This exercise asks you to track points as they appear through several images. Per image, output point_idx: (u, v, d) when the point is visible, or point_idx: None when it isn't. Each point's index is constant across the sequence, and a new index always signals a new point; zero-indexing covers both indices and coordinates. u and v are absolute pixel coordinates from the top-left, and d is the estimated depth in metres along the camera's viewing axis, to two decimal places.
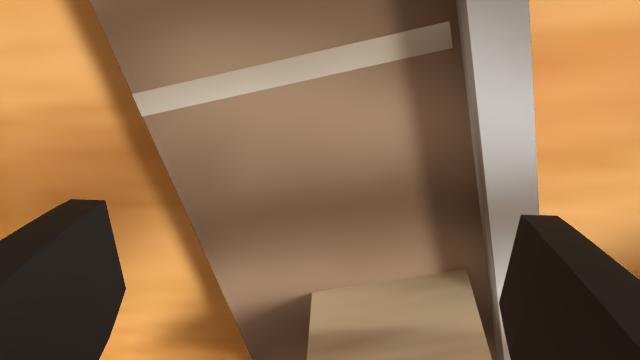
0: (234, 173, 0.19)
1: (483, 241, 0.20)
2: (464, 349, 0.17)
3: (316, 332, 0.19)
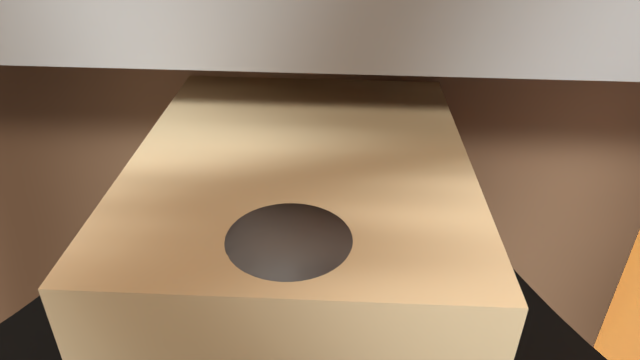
0: None
1: None
2: None
3: None
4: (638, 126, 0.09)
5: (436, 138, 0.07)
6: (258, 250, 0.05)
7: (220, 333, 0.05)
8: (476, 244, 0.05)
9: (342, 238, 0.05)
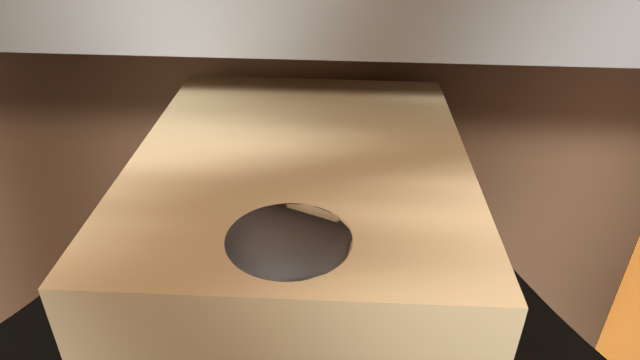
0: None
1: None
2: None
3: None
4: None
5: (436, 138, 0.07)
6: (257, 250, 0.05)
7: (220, 334, 0.05)
8: (476, 244, 0.05)
9: (342, 238, 0.05)
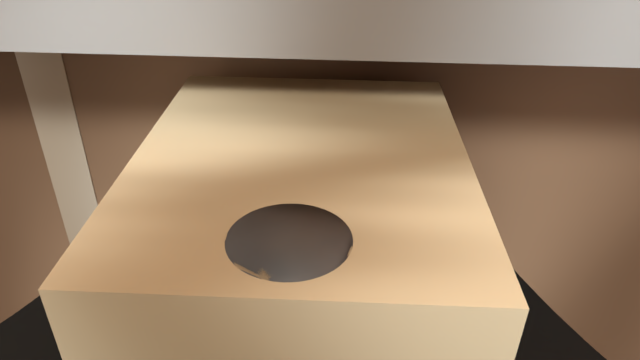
0: None
1: None
2: None
3: None
4: None
5: (436, 138, 0.07)
6: (258, 250, 0.05)
7: (220, 334, 0.05)
8: (477, 244, 0.05)
9: (342, 238, 0.05)
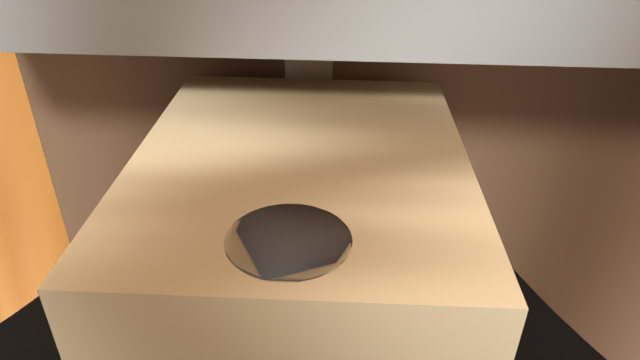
0: None
1: None
2: None
3: None
4: None
5: (436, 138, 0.07)
6: (257, 250, 0.05)
7: (220, 334, 0.05)
8: (476, 244, 0.05)
9: (342, 238, 0.05)
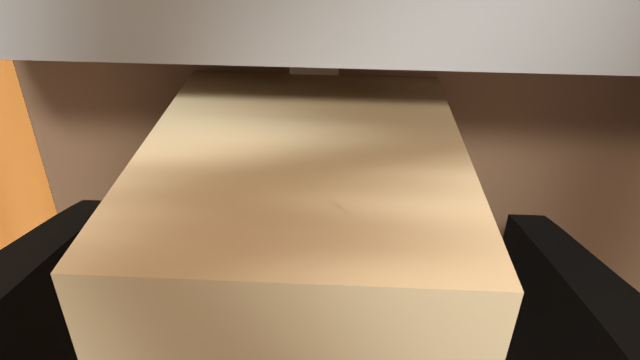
0: None
1: None
2: None
3: None
4: None
5: (435, 132, 0.07)
6: (262, 236, 0.05)
7: (226, 318, 0.05)
8: (473, 232, 0.05)
9: (343, 226, 0.05)
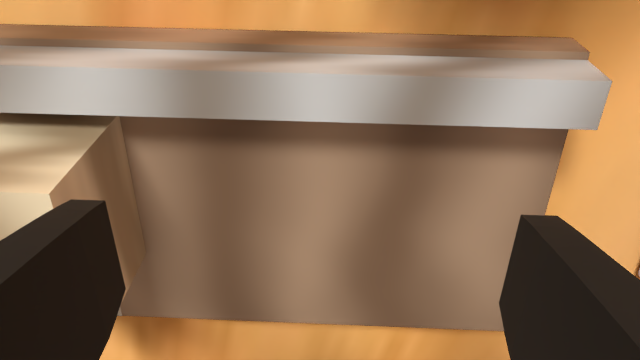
0: (177, 278, 0.22)
1: None
2: None
3: None
4: (544, 144, 0.18)
5: (85, 140, 0.16)
6: None
7: None
8: (53, 177, 0.15)
9: (9, 175, 0.15)
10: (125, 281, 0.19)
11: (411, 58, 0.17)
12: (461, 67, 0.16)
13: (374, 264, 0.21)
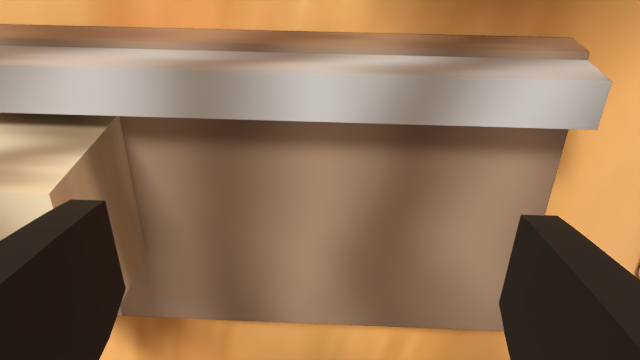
0: (177, 278, 0.22)
1: None
2: None
3: None
4: (544, 144, 0.18)
5: (85, 140, 0.16)
6: None
7: None
8: (53, 177, 0.15)
9: (9, 175, 0.15)
10: (125, 281, 0.19)
11: (411, 58, 0.17)
12: (461, 67, 0.16)
13: (374, 264, 0.21)
